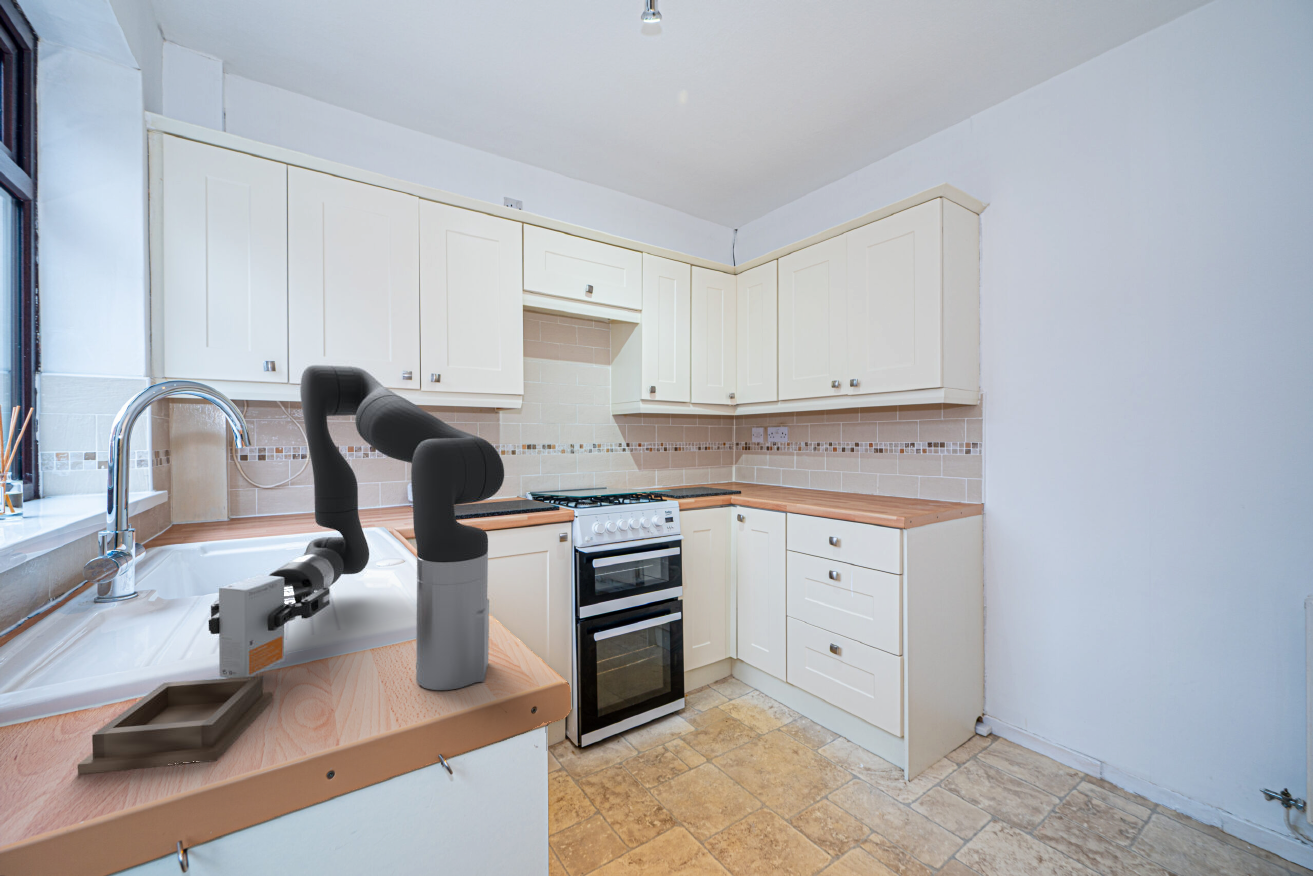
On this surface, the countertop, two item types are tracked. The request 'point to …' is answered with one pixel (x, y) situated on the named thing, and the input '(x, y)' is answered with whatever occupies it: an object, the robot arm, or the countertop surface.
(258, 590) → the skincare box
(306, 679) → the countertop surface
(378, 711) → the countertop surface
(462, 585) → the robot arm
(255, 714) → the tray
